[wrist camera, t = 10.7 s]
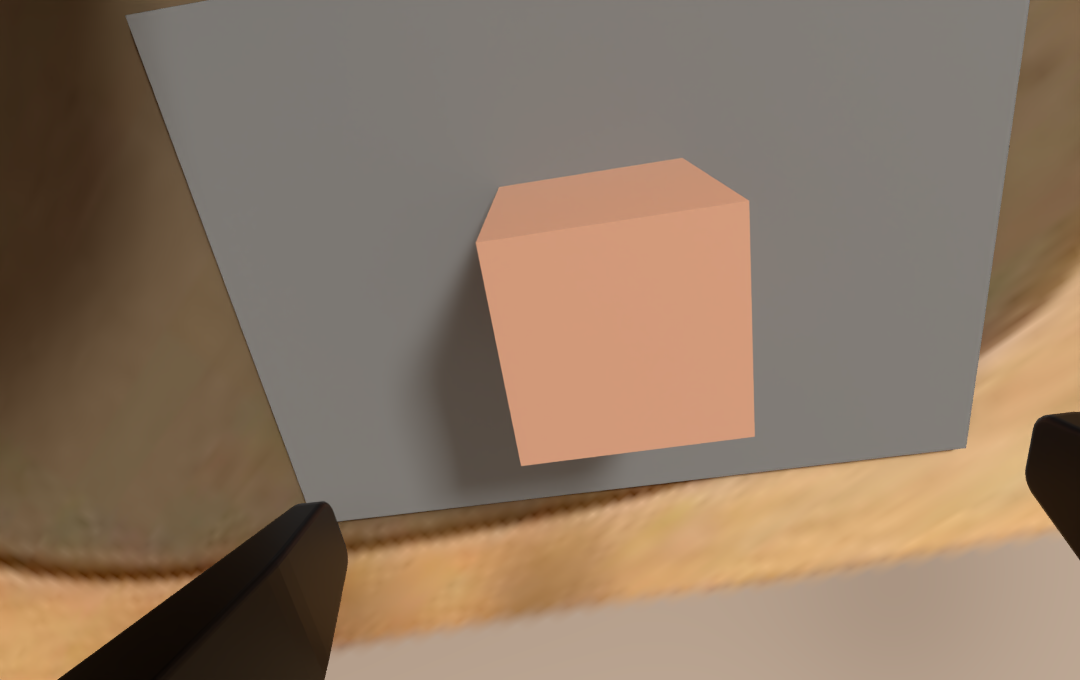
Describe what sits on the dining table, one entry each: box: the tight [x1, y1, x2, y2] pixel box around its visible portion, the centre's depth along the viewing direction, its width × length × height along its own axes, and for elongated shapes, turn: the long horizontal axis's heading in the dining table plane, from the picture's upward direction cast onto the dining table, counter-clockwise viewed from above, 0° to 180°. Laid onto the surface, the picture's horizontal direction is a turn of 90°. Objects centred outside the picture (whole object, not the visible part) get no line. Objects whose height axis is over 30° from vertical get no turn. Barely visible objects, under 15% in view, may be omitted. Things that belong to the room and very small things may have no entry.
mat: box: [125, 0, 1030, 521], centre depth 18 cm, size 22×16×1 cm
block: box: [476, 158, 755, 466], centre depth 15 cm, size 5×5×6 cm
